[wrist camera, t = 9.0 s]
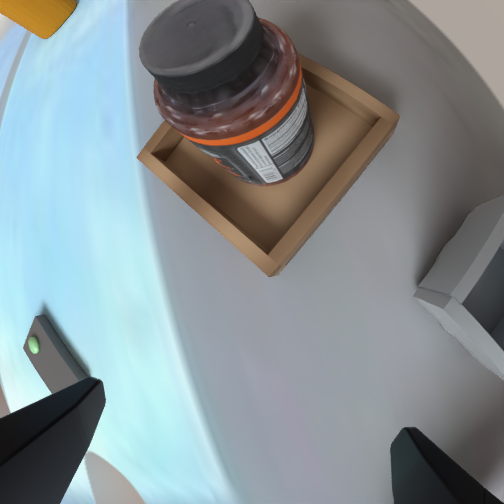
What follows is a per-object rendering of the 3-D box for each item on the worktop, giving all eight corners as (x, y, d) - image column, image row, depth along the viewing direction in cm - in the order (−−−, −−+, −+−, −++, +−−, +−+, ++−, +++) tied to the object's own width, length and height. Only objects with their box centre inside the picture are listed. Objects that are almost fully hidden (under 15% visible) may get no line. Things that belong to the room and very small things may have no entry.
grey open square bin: (532, 276, 14) (585, 279, 8) (475, 360, 15) (517, 393, 9) (470, 205, 16) (517, 183, 10) (407, 293, 17) (439, 307, 11)
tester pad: (90, 381, 22) (78, 386, 21) (73, 408, 23) (62, 413, 22) (44, 314, 24) (32, 316, 23) (31, 346, 25) (20, 348, 23)
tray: (393, 132, 17) (400, 115, 15) (277, 275, 19) (268, 277, 16) (257, 50, 20) (248, 30, 17) (155, 167, 21) (136, 157, 19)
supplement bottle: (205, 145, 20) (92, 53, 9) (272, 87, 19) (211, -42, 8) (262, 210, 18) (162, 140, 7) (336, 145, 17) (328, 10, 6)
